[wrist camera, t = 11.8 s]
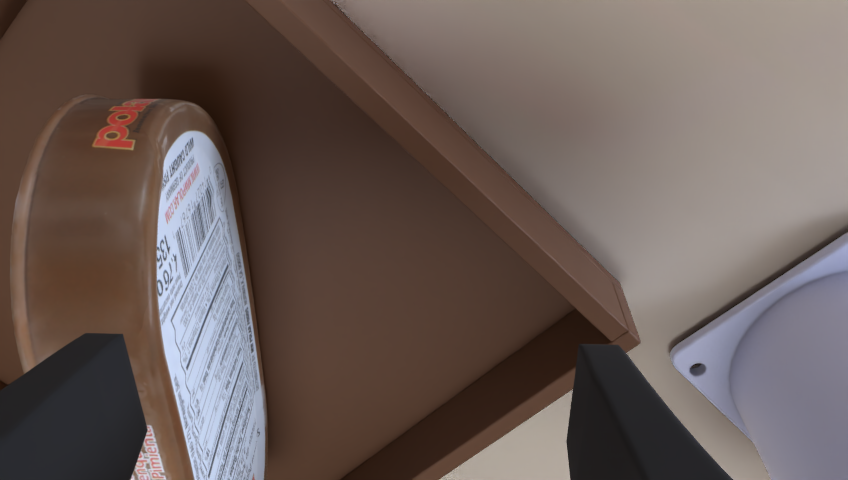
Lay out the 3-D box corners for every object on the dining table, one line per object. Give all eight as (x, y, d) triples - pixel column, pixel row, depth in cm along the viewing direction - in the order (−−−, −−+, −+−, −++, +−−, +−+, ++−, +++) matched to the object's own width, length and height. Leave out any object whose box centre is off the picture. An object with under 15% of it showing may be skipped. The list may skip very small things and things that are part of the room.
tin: (124, 52, 19) (-84, 189, 12) (242, 53, 19) (107, 192, 12) (208, 462, 27) (113, 703, 19) (294, 464, 26) (230, 708, 19)
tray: (621, 284, 23) (642, 343, 20) (260, 544, 29) (241, 613, 27) (132, -194, 17) (72, -198, 14) (-176, 269, 24) (-255, 323, 21)
